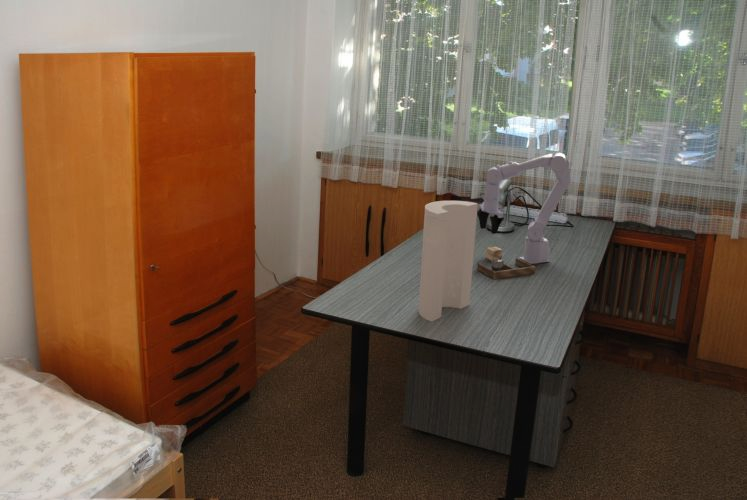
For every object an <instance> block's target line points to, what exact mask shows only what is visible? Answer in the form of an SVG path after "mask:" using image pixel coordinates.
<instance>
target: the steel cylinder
mask: <svg viewBox="0 0 747 500" xmlns="http://www.w3.org/2000/svg"><path fill="white" fill-rule="evenodd" d="M503 263H504V260H503V258H502V259H492V261H491V267H490V269H491V270H493V271H495V272H496V271H503Z"/></svg>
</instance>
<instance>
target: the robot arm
mask: <svg viewBox="0 0 747 500" xmlns="http://www.w3.org/2000/svg"><path fill="white" fill-rule="evenodd" d="M541 167H542V168H544V169H547V170H549V167H550V169H551V171H552V172H553V173H554V174H555V177H556V182H555V184H554V185H553V187H552V189H551V191H550V193H549V194H548V196H547V198H546V199H545V202H544V203H543V205H542V207H541V208H540V210H539V211H538V213H537V215H536V216H535V217H534V219H533V220H532V221H530V222H529V224H528V225H527V233H526V234H527V235H526V236H525V241H524V252H523V256H519V257H518V259H520V260H522V261H524V262H526V263H528V264H530V265H533V264H541V263H548V262H550V260H549V255H550V248H551V246H550V242H549V240H548V239H547V238H545V237H544V233H545V232H544V231H545V229H546V227H547V224H548V223H549V220H550V218H551V216H552V214H553V213H554V212H555V209H556V208H557V206H558V204H559V202H560V201H561V200H562V197H563V196H564V194H565V192H566V191H567V189H568V187H569V185H570V183H571V172H570V171H571V170H570V163H569V160H568V157H567V156H566V154H565V153H563V152H560V151H559V152H555V153H548V154H545V155H541V156H539V157H535V158H532V159H529V160H527V161H524V162H520V163H518V162H516V161H512V160H510V161H508V162H507V163H505V164H503V165H499V164H497V165H496V167H493V166H492V167H490V168H489V169H488V170H487V171H486V174H485V186H484V196H483V197H484V198H483V199H484V200H483V204H481V203H479V204H478V207H477V218H478V220H479V227H480V229H482V230H483V229H486V228H487V223H488V218H489V219H490V224H491V228H490V229H491V230H490V232H491V234H494V235H495V234H497V233H498V230H499V227H500V226H501V224H502V222H503V221H504V219H505V218H504V212H502V211H501V210H500V209H499V202H500V189H501V187H500V184H501V181H506V180H509V179H512V178H515V177H519V176H520V175H521V173H522V172H525V171H528V170H533V169H537V168H541ZM489 215H493V216H489Z"/></svg>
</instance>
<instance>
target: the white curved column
mask: <svg viewBox="0 0 747 500" xmlns="http://www.w3.org/2000/svg"><path fill="white" fill-rule="evenodd" d="M478 205H479V204H478V203H477V202H472V201H466V200H465V201H464V200H438V201H436V200H435V201H432V202H429V203H427V204H425V205H424V216H423V217H424V218H423V233H422V234H423V235H422V251H421V263H420V265H421V266H420V283H419V296H418V297H419V299H418V300H419V301H418V313H419V314H418V315H420V317H422V318H423V319H424V320H426V321H428V322H429V323H430V322H433V321H436V320H438V319H440V318H442V310H443V308H455V309H459V310H461V309H463V308H466V307H469V306H470V301H471V300H470V299H471V291H472V290H471V289H472V276H473V265H474V254H475V253H474V252H475V243H476V242H475V241H476V231H477V230H476V229H477V218H478V215H477V211H478Z"/></svg>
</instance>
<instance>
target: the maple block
mask: <svg viewBox="0 0 747 500" xmlns="http://www.w3.org/2000/svg"><path fill="white" fill-rule="evenodd" d="M503 252H504V251H503V249H502V248H500V247H497V246H490V247H486V251H485V254H486V255H485V259H486V258H487V259H486V260H488V259H489V261H490V260H491V262H492V259H502V260H503Z"/></svg>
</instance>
